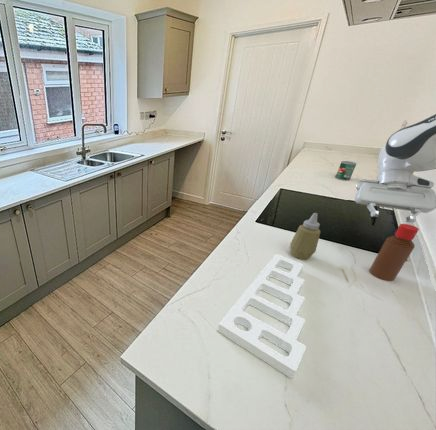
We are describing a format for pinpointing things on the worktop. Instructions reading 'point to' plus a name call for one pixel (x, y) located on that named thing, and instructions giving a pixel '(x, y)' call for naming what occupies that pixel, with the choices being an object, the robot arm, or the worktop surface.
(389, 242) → the bottle
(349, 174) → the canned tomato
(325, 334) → the worktop surface
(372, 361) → the worktop surface
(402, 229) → the cap
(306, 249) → the squeeze bottle
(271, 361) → the holder
